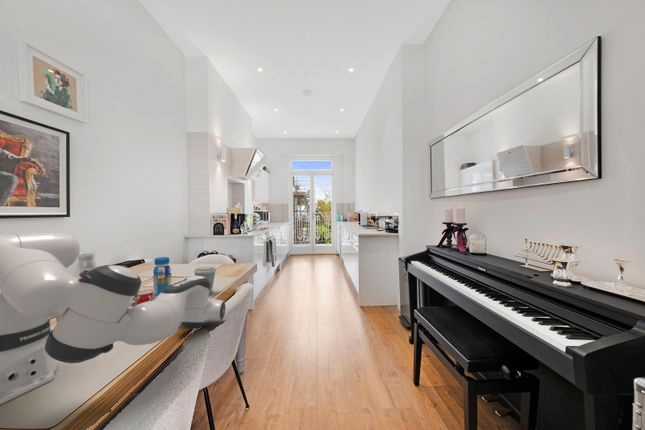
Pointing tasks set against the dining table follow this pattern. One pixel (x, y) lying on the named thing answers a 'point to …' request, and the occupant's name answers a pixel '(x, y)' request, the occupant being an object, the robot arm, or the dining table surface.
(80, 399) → the dining table surface
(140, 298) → the soda can
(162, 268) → the beverage bottle
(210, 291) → the disposable coffee cup
